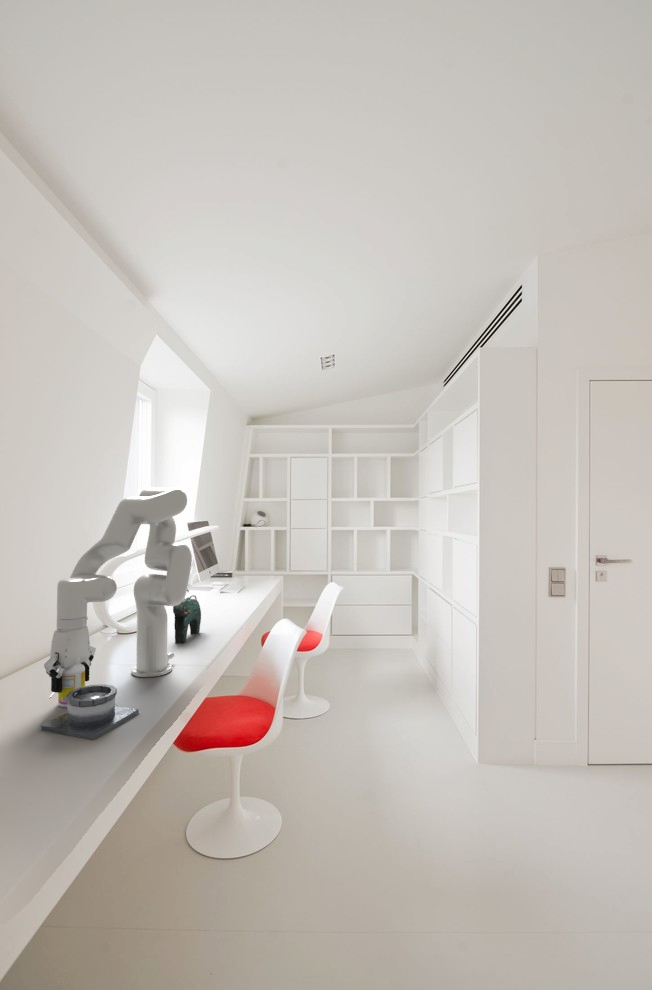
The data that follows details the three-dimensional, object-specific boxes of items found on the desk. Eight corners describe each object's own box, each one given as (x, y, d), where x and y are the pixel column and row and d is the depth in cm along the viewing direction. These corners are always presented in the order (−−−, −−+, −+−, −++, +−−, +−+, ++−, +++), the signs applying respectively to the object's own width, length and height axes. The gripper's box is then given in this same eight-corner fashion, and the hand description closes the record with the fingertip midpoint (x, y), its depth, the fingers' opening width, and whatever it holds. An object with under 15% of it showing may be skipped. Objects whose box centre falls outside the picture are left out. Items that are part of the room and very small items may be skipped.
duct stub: (89, 706, 144) (89, 678, 144) (138, 713, 139) (138, 685, 139) (40, 730, 129) (41, 699, 129) (94, 739, 124) (94, 708, 124)
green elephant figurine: (184, 645, 205) (184, 593, 205) (168, 644, 206) (168, 592, 206) (203, 632, 225) (204, 585, 225) (189, 631, 226) (189, 584, 226)
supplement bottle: (78, 697, 151) (78, 651, 151) (89, 702, 147) (89, 656, 147) (53, 704, 146) (54, 657, 146) (64, 710, 142) (65, 662, 142)
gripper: (84, 616, 156) (83, 675, 155) (35, 629, 139) (33, 695, 139) (105, 618, 153) (104, 678, 153) (57, 631, 137) (56, 698, 137)
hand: (70, 686), depth 146 cm, fingers open, 9 cm apart
